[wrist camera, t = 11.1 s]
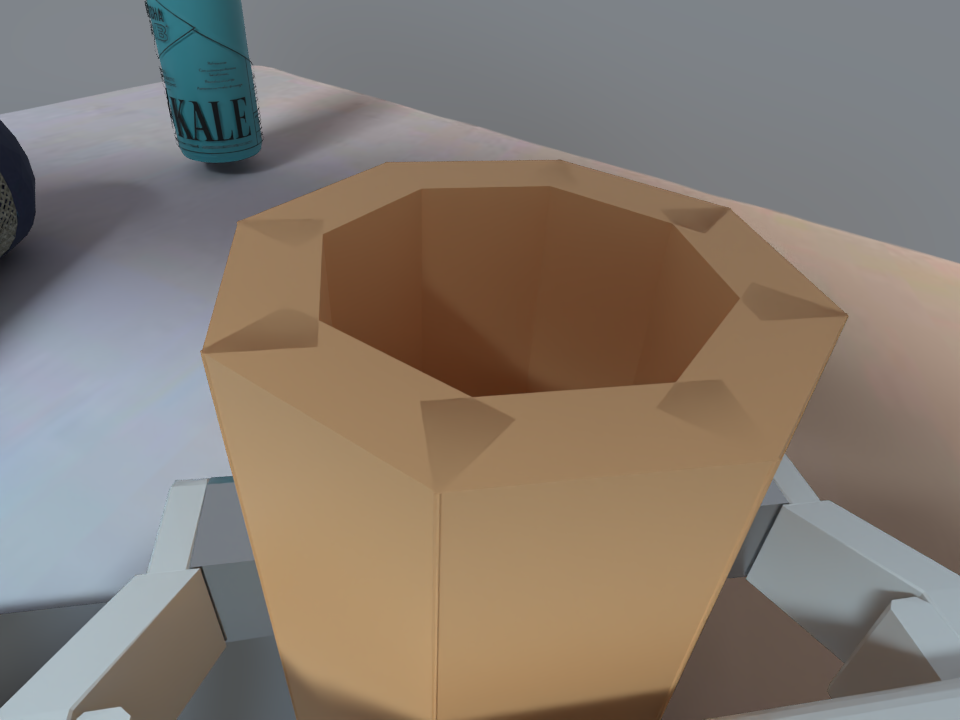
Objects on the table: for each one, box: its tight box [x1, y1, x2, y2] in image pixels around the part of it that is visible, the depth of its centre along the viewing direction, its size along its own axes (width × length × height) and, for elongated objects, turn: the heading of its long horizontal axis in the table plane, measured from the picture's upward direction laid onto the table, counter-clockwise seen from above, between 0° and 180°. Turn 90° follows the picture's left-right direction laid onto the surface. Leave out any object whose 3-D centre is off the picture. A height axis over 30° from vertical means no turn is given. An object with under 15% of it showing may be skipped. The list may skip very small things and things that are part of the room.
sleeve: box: [200, 160, 848, 720], centre depth 10 cm, size 6×6×10 cm
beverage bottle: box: [145, 0, 264, 163], centre depth 46 cm, size 6×7×20 cm
